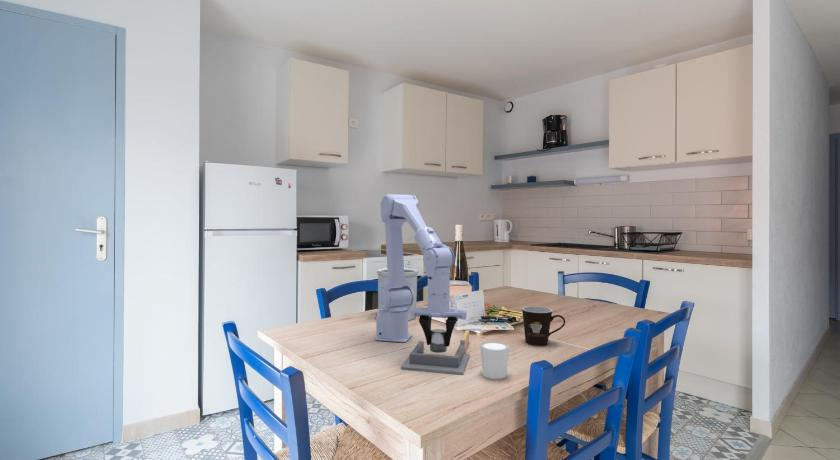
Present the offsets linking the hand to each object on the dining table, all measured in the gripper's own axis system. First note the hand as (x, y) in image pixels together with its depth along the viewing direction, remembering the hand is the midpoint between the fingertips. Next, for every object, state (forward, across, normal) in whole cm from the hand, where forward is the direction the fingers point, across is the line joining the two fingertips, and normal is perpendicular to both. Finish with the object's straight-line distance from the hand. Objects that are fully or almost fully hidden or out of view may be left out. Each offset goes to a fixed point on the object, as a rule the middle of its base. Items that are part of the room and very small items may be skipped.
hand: (438, 344), depth 114 cm
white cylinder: (+4, +15, -7) cm, 17 cm away
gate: (+4, +6, +11) cm, 13 cm away
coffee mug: (+4, +27, +21) cm, 34 cm away
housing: (+4, 0, -2) cm, 4 cm away
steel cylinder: (+2, 0, 0) cm, 2 cm away
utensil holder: (+4, -23, +42) cm, 48 cm away
